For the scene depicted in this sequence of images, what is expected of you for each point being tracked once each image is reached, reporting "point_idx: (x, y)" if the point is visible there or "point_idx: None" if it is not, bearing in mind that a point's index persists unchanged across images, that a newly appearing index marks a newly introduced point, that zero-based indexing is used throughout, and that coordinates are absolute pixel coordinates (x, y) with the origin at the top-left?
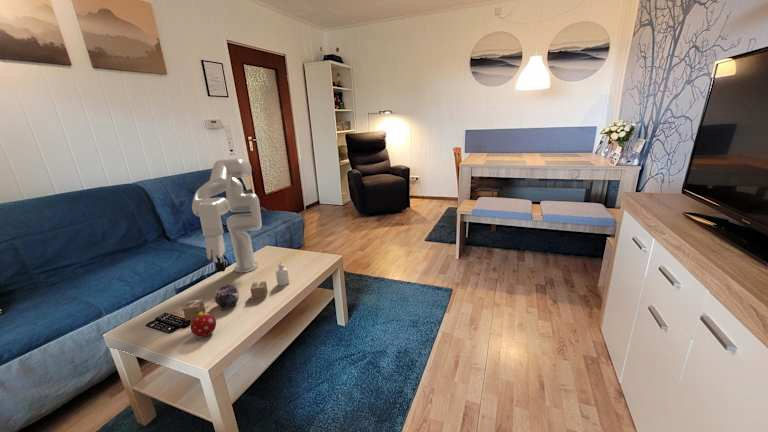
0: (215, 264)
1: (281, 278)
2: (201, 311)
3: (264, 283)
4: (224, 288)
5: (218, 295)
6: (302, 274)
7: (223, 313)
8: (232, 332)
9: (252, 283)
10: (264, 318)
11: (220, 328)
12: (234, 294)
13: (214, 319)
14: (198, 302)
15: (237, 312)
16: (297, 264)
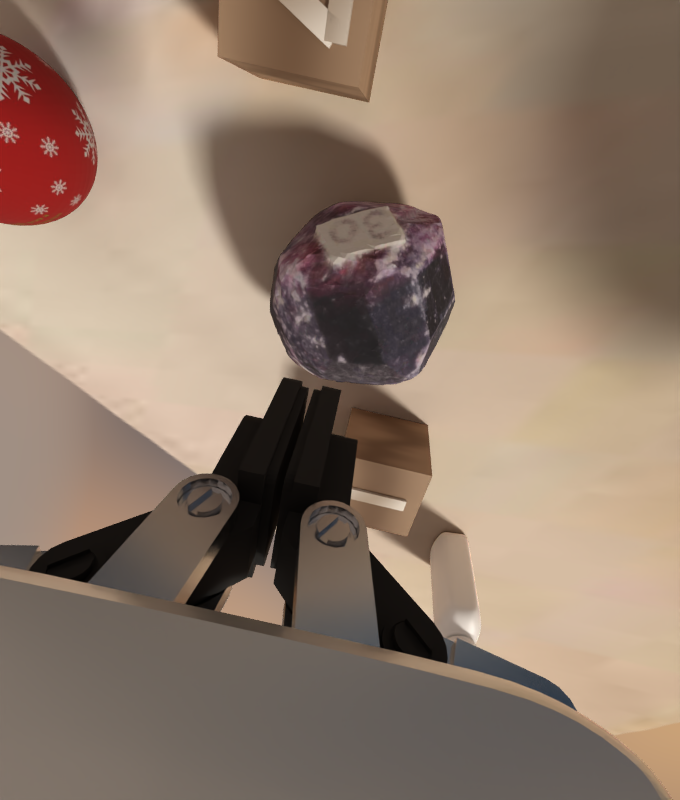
0: (246, 461)
1: (434, 582)
2: (277, 77)
3: (375, 525)
4: (324, 323)
5: (283, 257)
6: (491, 624)
7: (271, 243)
8: (59, 292)
9: (421, 474)
10: (149, 431)
11: (106, 228)
12: (298, 363)
13: (4, 223)
14: (304, 41)
15: (249, 324)
16: (638, 640)
